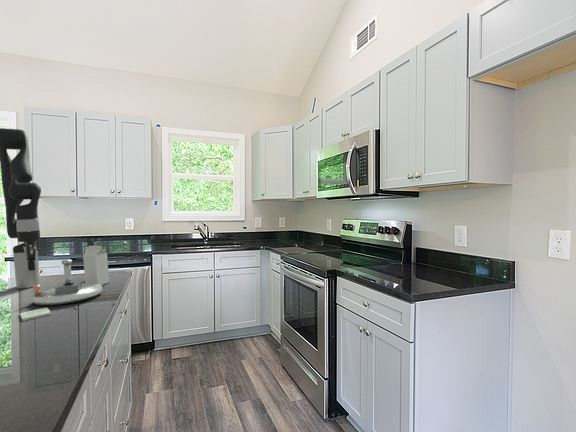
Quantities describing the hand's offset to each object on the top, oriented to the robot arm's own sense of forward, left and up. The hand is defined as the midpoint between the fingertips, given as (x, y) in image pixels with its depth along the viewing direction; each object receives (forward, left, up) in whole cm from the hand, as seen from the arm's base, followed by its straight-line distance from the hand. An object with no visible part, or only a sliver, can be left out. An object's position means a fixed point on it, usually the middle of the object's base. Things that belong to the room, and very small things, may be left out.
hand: (31, 270), depth 136 cm
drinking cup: (-15, +26, -12) cm, 32 cm away
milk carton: (-2, +25, -12) cm, 28 cm away
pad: (+27, -2, -12) cm, 29 cm away
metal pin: (+13, +11, -9) cm, 19 cm away
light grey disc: (+13, +11, -11) cm, 20 cm away
